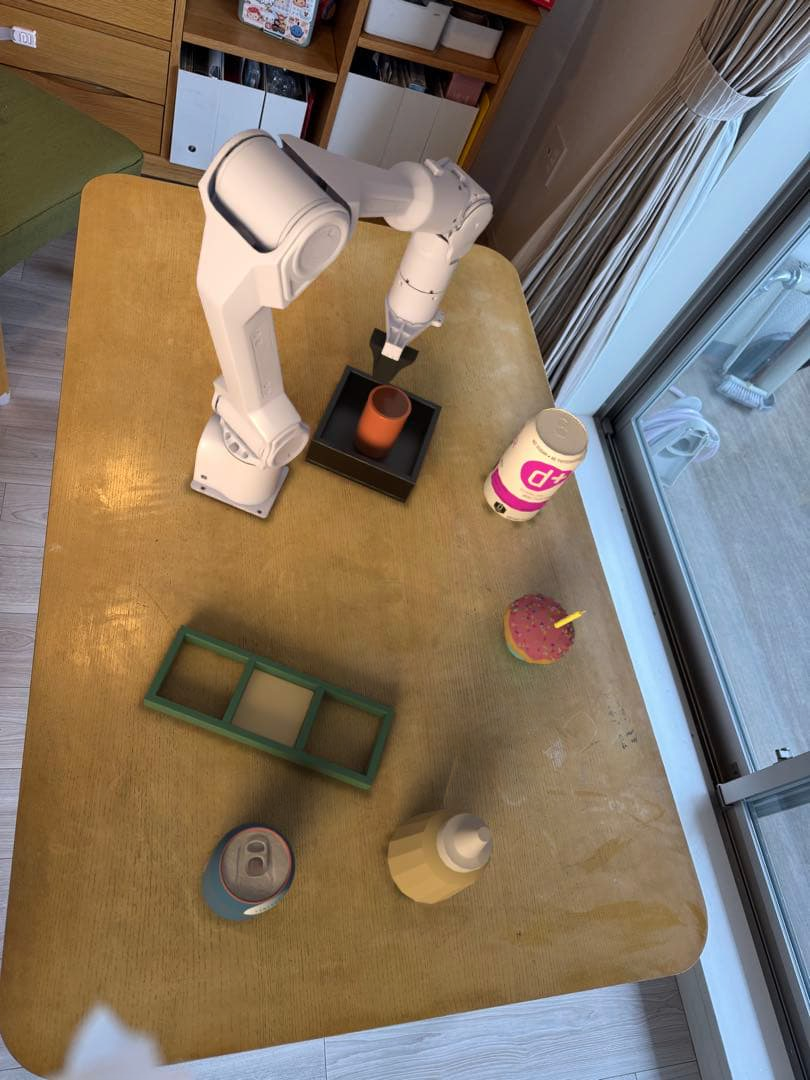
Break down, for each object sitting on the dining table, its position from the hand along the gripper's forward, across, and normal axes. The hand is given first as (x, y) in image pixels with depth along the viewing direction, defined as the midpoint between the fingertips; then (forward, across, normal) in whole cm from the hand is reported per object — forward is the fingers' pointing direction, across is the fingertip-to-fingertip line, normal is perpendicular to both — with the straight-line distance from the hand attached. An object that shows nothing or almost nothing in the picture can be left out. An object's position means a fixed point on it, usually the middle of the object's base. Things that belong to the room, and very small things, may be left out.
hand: (389, 358), depth 95 cm
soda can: (+11, -59, -6) cm, 60 cm away
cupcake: (+11, -24, -28) cm, 38 cm away
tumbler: (+10, -5, -2) cm, 11 cm away
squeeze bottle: (+11, -52, -22) cm, 57 cm away
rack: (+10, -43, -3) cm, 44 cm away
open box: (+10, -5, -2) cm, 12 cm away
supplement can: (+11, -4, -22) cm, 25 cm away
